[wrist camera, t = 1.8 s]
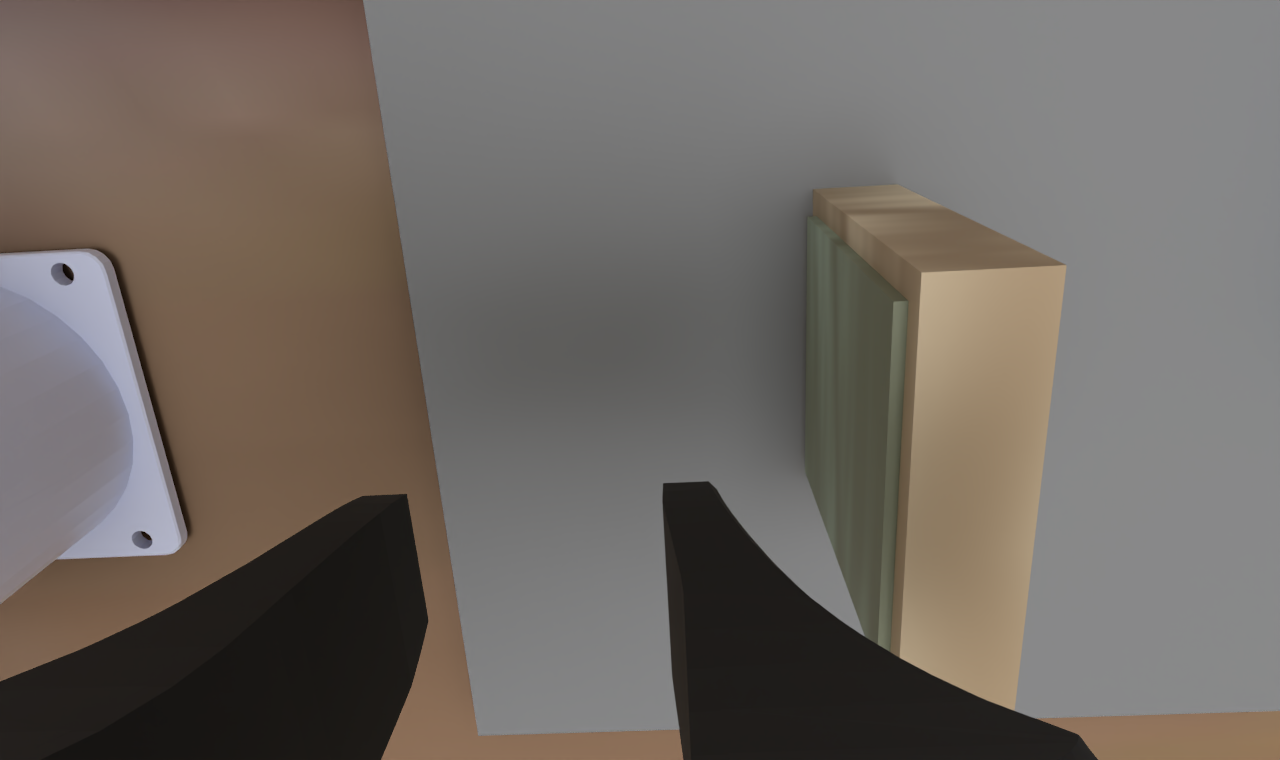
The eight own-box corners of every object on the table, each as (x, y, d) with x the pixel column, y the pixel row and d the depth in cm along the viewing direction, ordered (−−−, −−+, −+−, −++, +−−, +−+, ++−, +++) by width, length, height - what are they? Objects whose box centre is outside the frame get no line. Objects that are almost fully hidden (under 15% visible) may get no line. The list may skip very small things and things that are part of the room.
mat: (483, 715, 24) (478, 735, 24) (348, -175, 17) (334, -186, 16) (1270, 690, 23) (1290, 710, 23) (1502, -261, 16) (1544, -278, 15)
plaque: (801, 480, 21) (883, 716, 13) (803, 189, 18) (905, 274, 11) (884, 477, 20) (1014, 712, 13) (897, 184, 18) (1066, 264, 11)
